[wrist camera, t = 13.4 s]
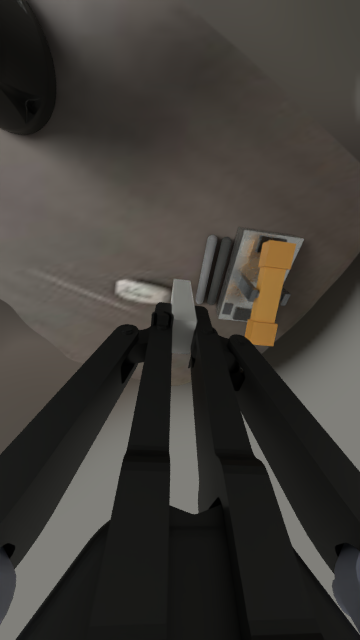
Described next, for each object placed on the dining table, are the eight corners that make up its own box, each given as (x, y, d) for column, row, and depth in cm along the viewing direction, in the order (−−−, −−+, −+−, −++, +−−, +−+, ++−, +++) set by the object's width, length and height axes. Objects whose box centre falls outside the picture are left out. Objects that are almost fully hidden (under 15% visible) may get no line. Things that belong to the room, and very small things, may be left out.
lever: (262, 243, 35) (270, 239, 32) (286, 246, 35) (296, 243, 32) (244, 339, 38) (249, 344, 36) (266, 342, 39) (273, 346, 36)
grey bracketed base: (238, 227, 38) (258, 236, 29) (293, 235, 39) (329, 246, 30) (215, 310, 49) (224, 336, 40) (258, 315, 50) (277, 341, 41)
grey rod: (207, 233, 39) (209, 235, 37) (217, 234, 39) (219, 236, 37) (194, 301, 47) (195, 304, 46) (202, 301, 47) (203, 305, 46)
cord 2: (221, 235, 39) (223, 237, 37) (231, 236, 39) (233, 238, 37) (206, 302, 48) (207, 306, 46) (213, 303, 48) (214, 307, 46)
